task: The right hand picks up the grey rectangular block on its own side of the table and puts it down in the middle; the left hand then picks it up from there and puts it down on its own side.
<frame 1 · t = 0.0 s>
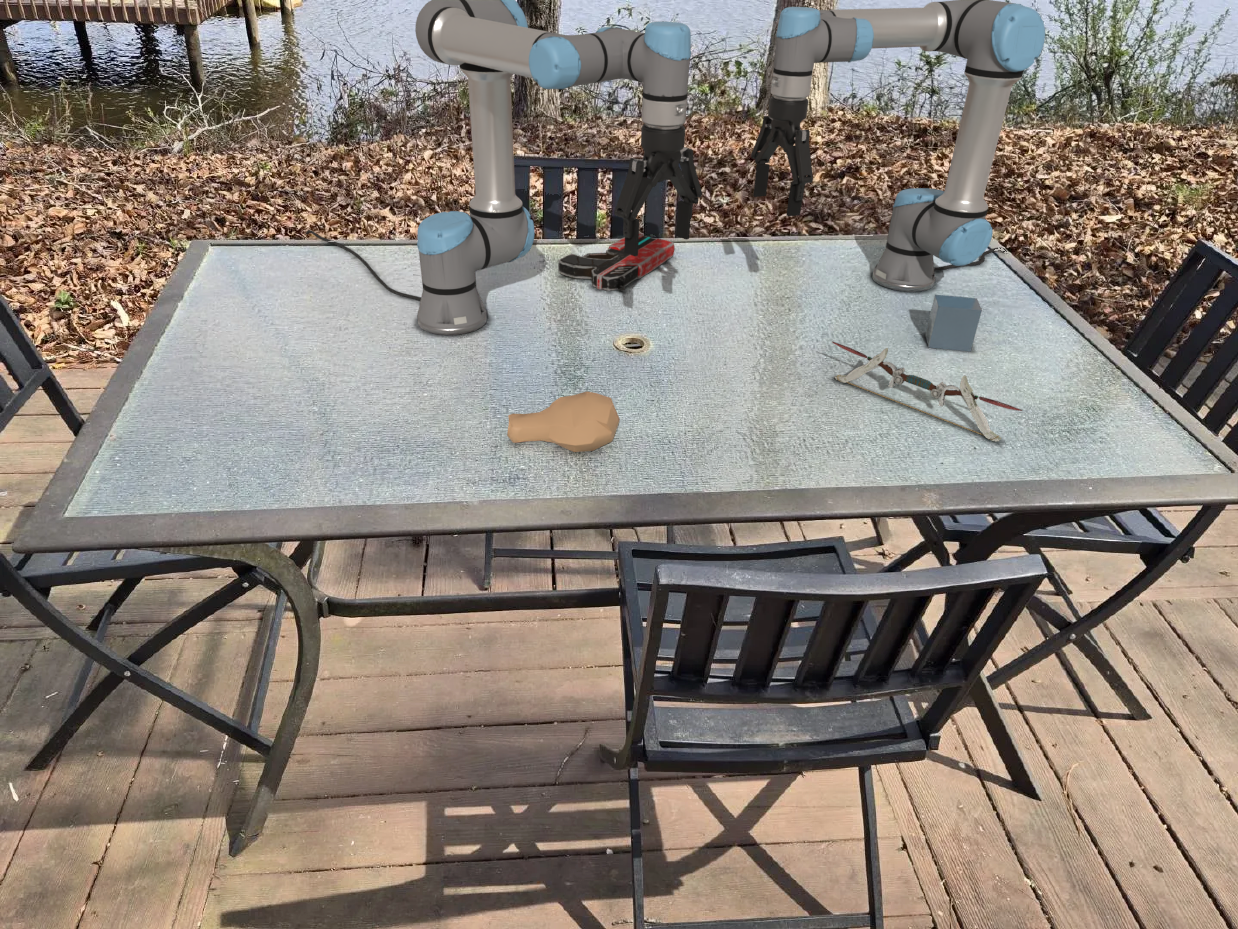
left hand: (657, 245, 161), 28 cm above the table, tool pointing down, fingers open, 13 cm apart
right hand: (775, 205, 182), 28 cm above the table, tool pointing down, fingers open, 13 cm apart
bow: (912, 409, 169), on the table
gun: (618, 268, 227), on the table
squash: (563, 442, 156), on the table
grey rectangular block: (947, 342, 194), on the table
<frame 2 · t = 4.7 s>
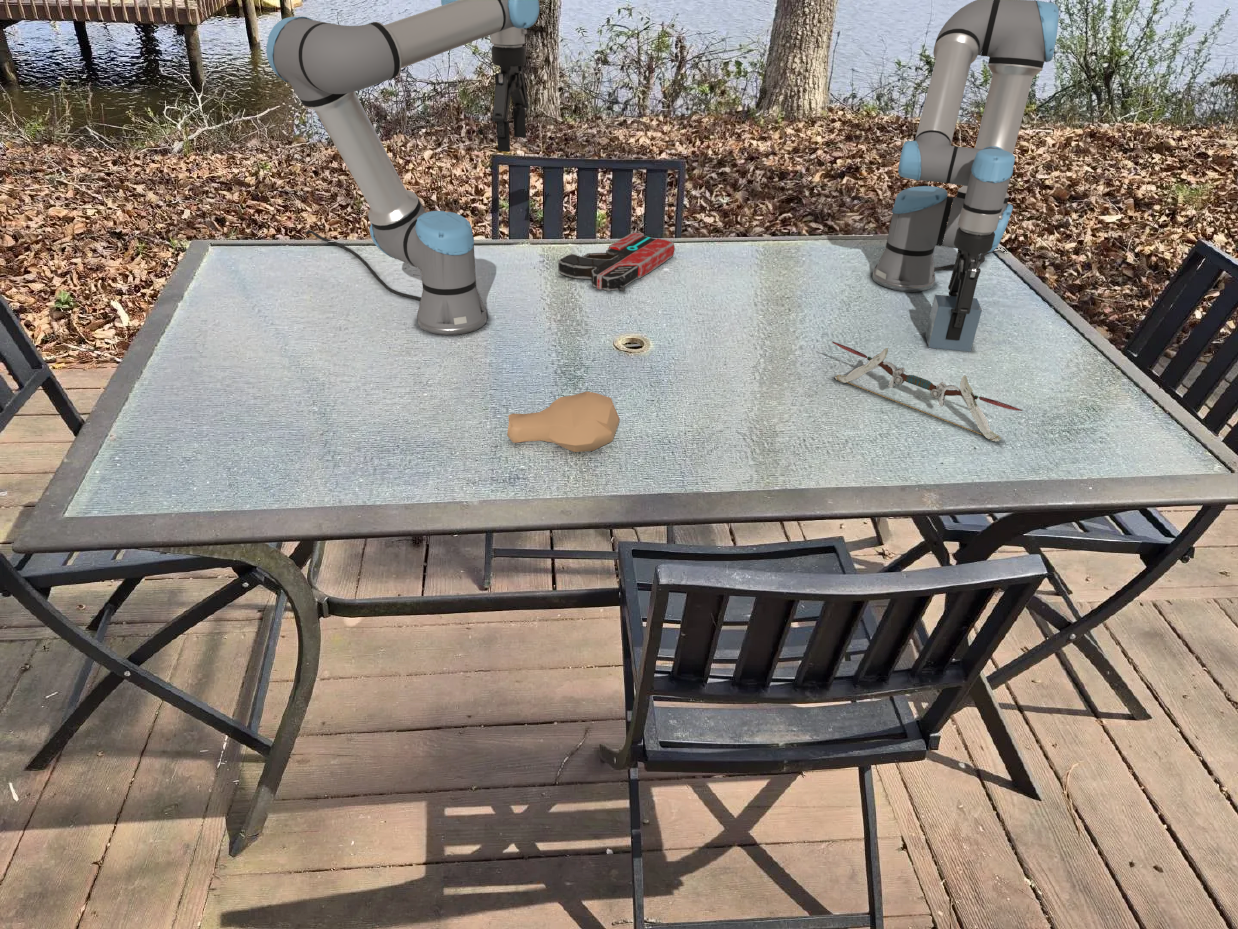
left hand: (512, 143, 207), 31 cm above the table, tool pointing down, fingers open, 13 cm apart
right hand: (950, 331, 193), 3 cm above the table, tool pointing down, fingers closed on grey rectangular block, 7 cm apart
grey rectangular block: (947, 342, 194), on the table, touching right hand
everything else where it was.
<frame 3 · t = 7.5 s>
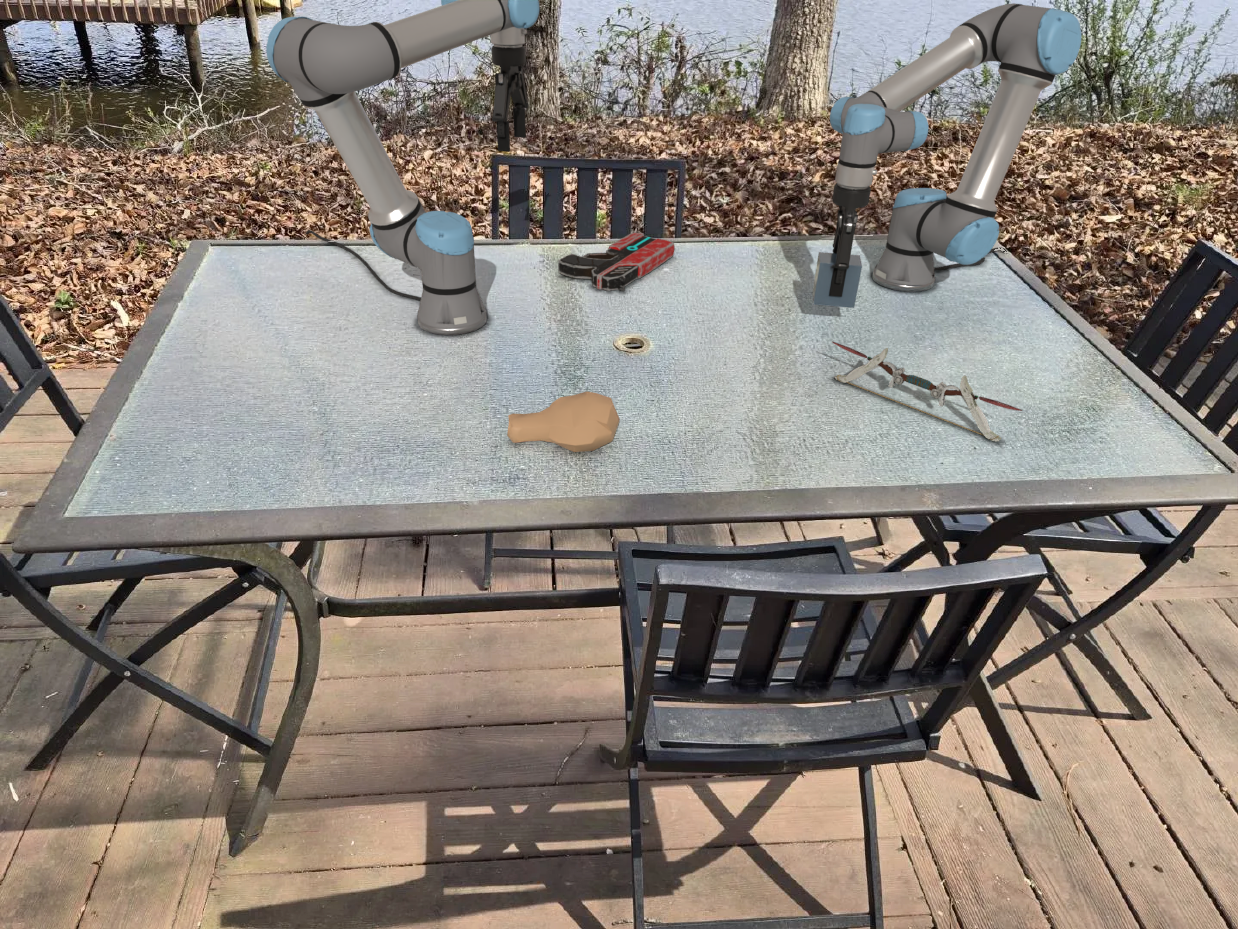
left hand: (512, 143, 207), 31 cm above the table, tool pointing down, fingers open, 13 cm apart
right hand: (834, 288, 195), 9 cm above the table, tool pointing down, fingers closed on grey rectangular block, 7 cm apart
grey rectangular block: (832, 300, 196), point 6 cm above the table, touching right hand
everything else where it was.
when the right hand's fingers open (4 cm above the table, at t = 10.5 s): grey rectangular block stays where it is, on the table.
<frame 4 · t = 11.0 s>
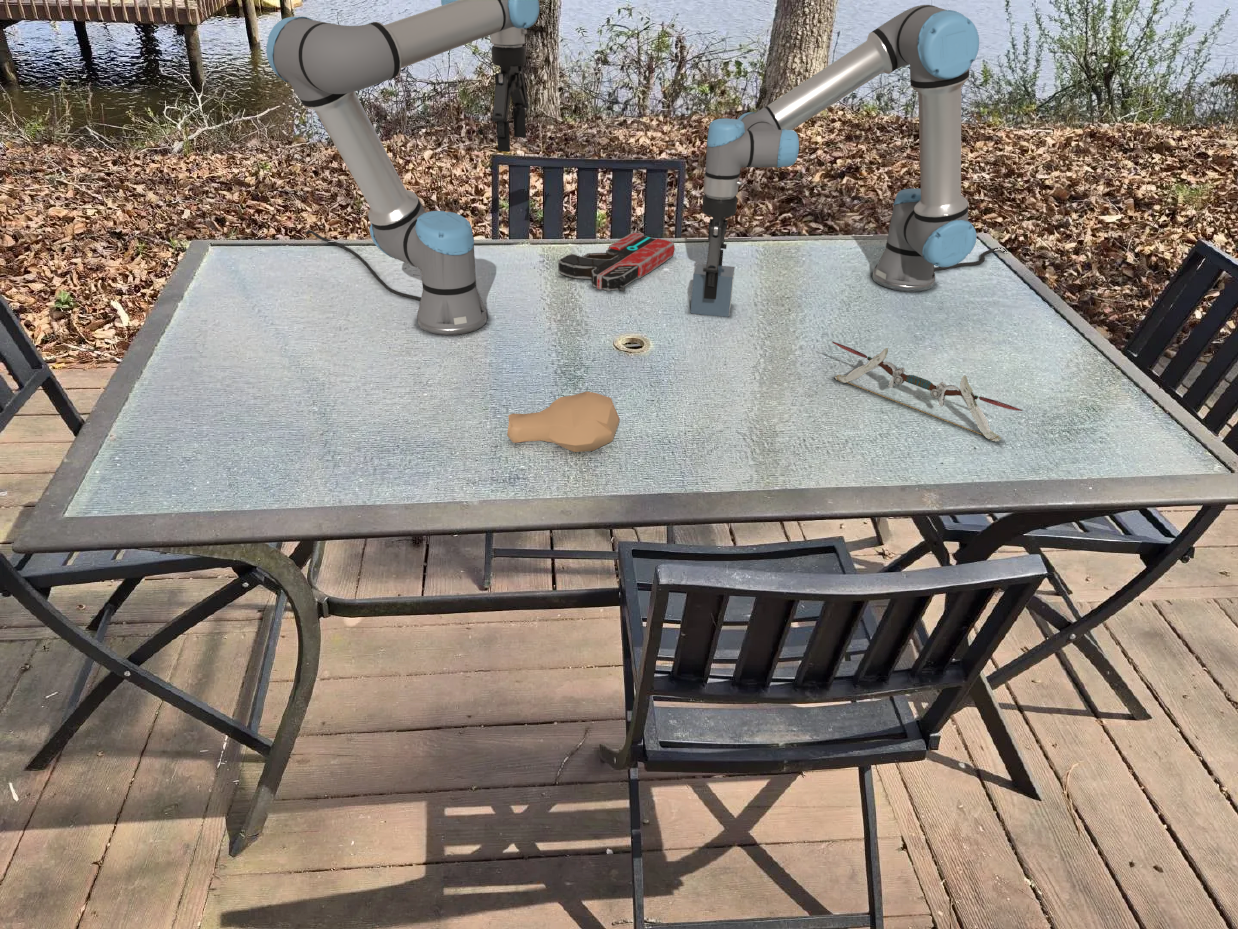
left hand: (512, 143, 207), 31 cm above the table, tool pointing down, fingers open, 13 cm apart
right hand: (712, 287, 203), 6 cm above the table, tool pointing down, fingers open, 13 cm apart
grey rectangular block: (710, 309, 206), on the table
everything else where it was.
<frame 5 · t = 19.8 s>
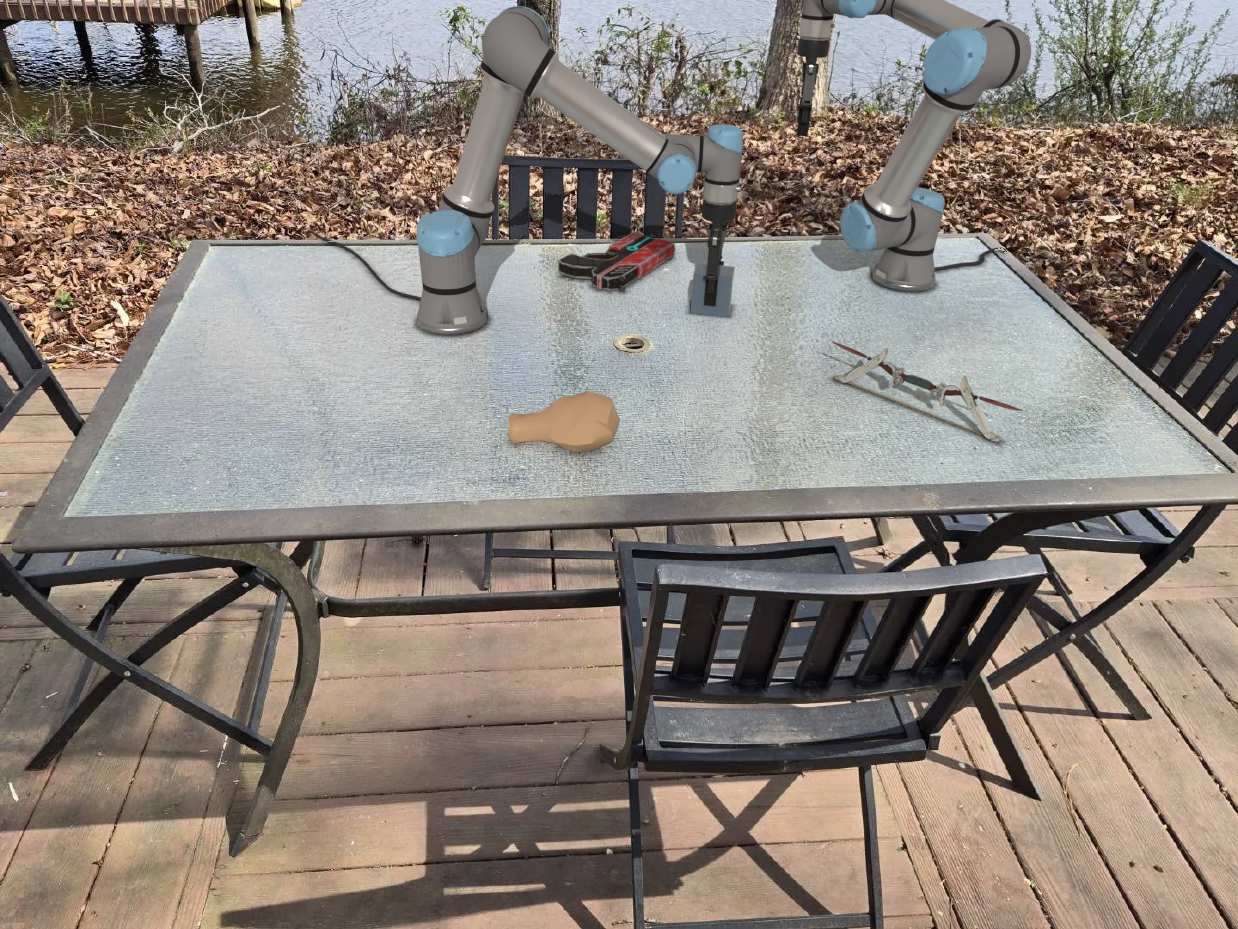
left hand: (711, 298, 205), 3 cm above the table, tool pointing down, fingers closed on grey rectangular block, 7 cm apart
right hand: (802, 129, 224), 32 cm above the table, tool pointing down, fingers open, 13 cm apart
grey rectangular block: (710, 309, 206), on the table, touching left hand
everything else where it was.
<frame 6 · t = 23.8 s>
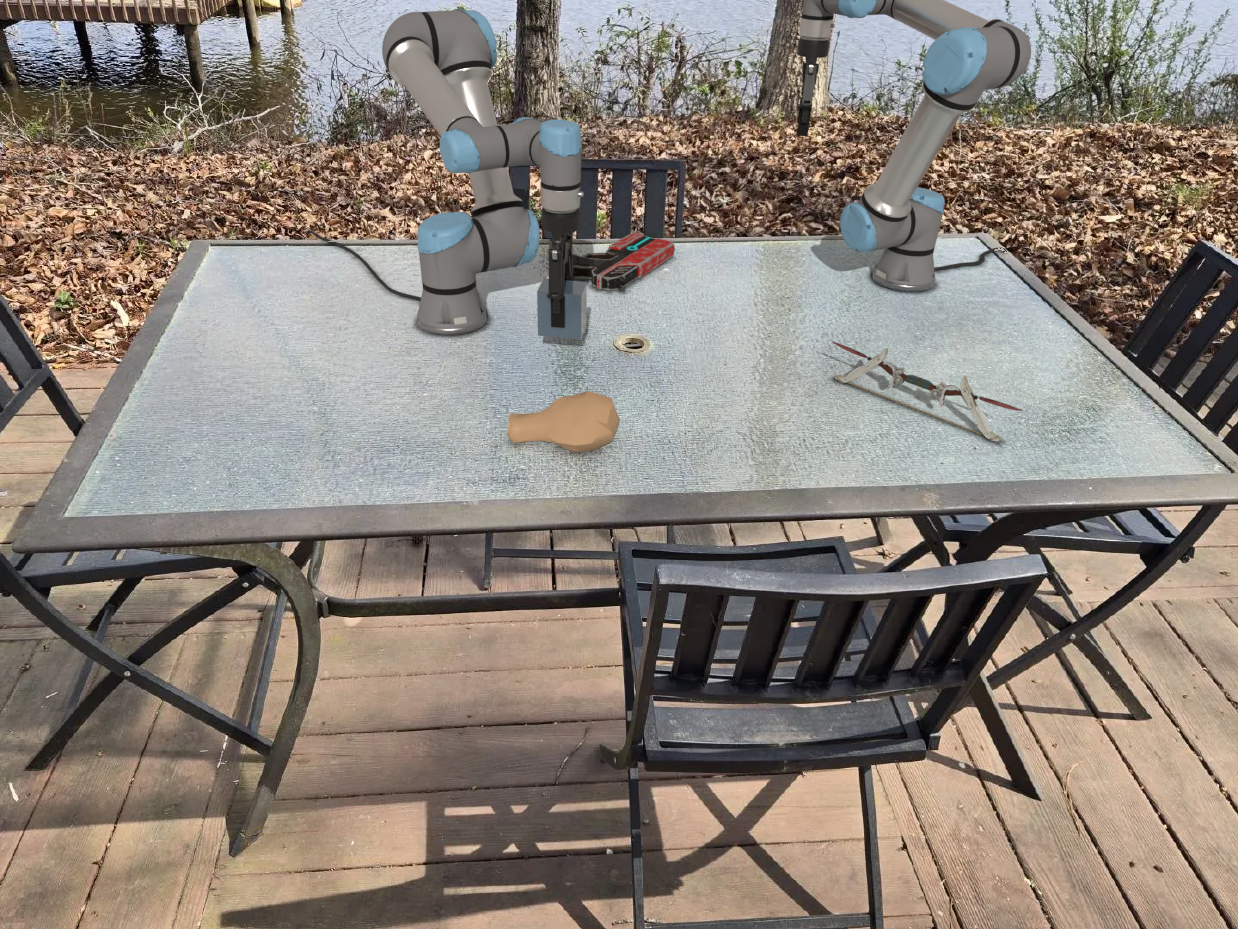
left hand: (561, 318, 180), 9 cm above the table, tool pointing down, fingers closed on grey rectangular block, 7 cm apart
right hand: (802, 129, 224), 32 cm above the table, tool pointing down, fingers open, 13 cm apart
grey rectangular block: (562, 330, 181), point 6 cm above the table, touching left hand
everything else where it was.
when the left hand's fingers open (4 cm above the table, at t = 27.7 s): grey rectangular block drops 1 cm, on the table.
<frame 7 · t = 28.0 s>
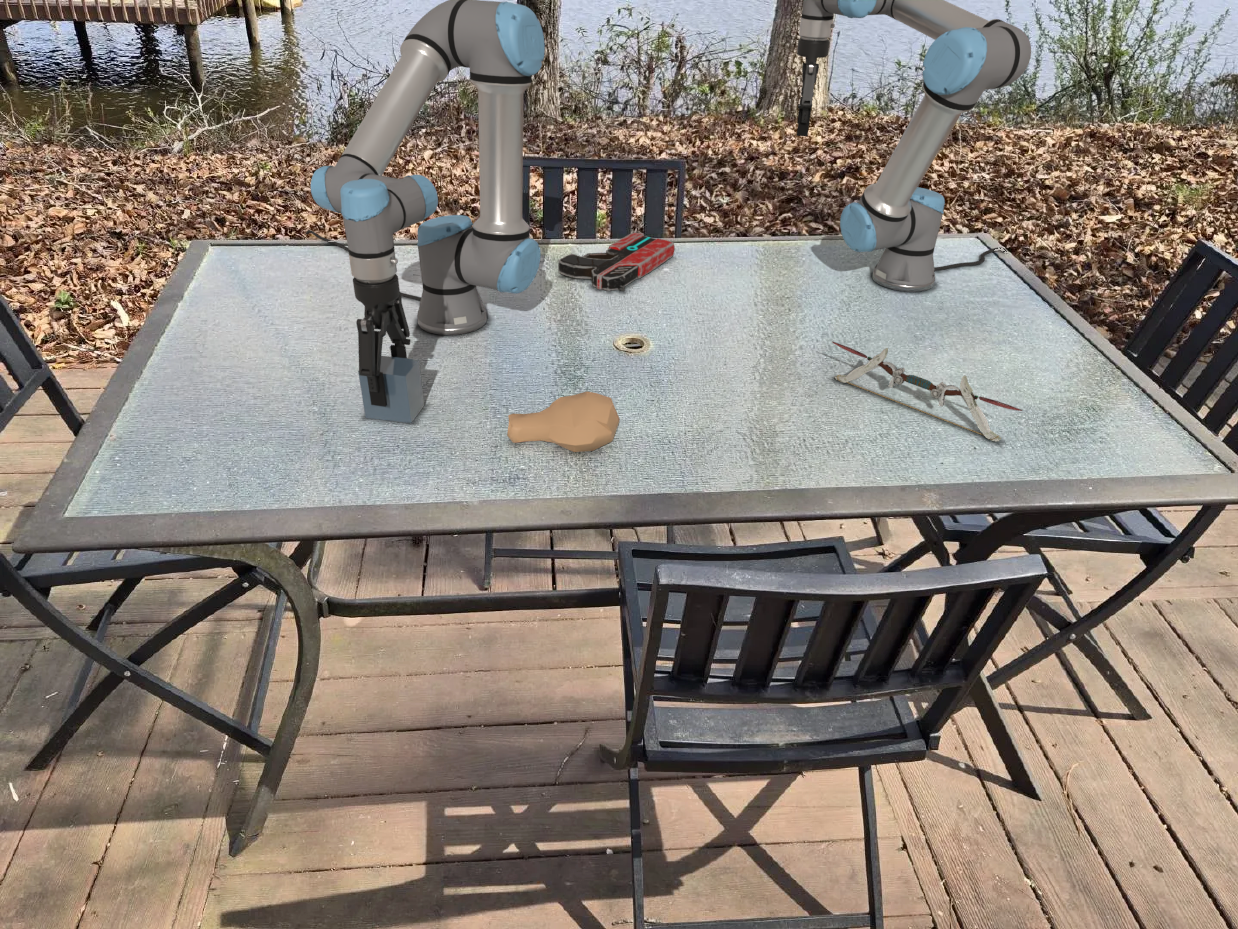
left hand: (390, 390, 161), 4 cm above the table, tool pointing down, fingers open, 10 cm apart
right hand: (802, 129, 224), 32 cm above the table, tool pointing down, fingers open, 13 cm apart
grey rectangular block: (395, 411, 164), on the table
everything else where it was.
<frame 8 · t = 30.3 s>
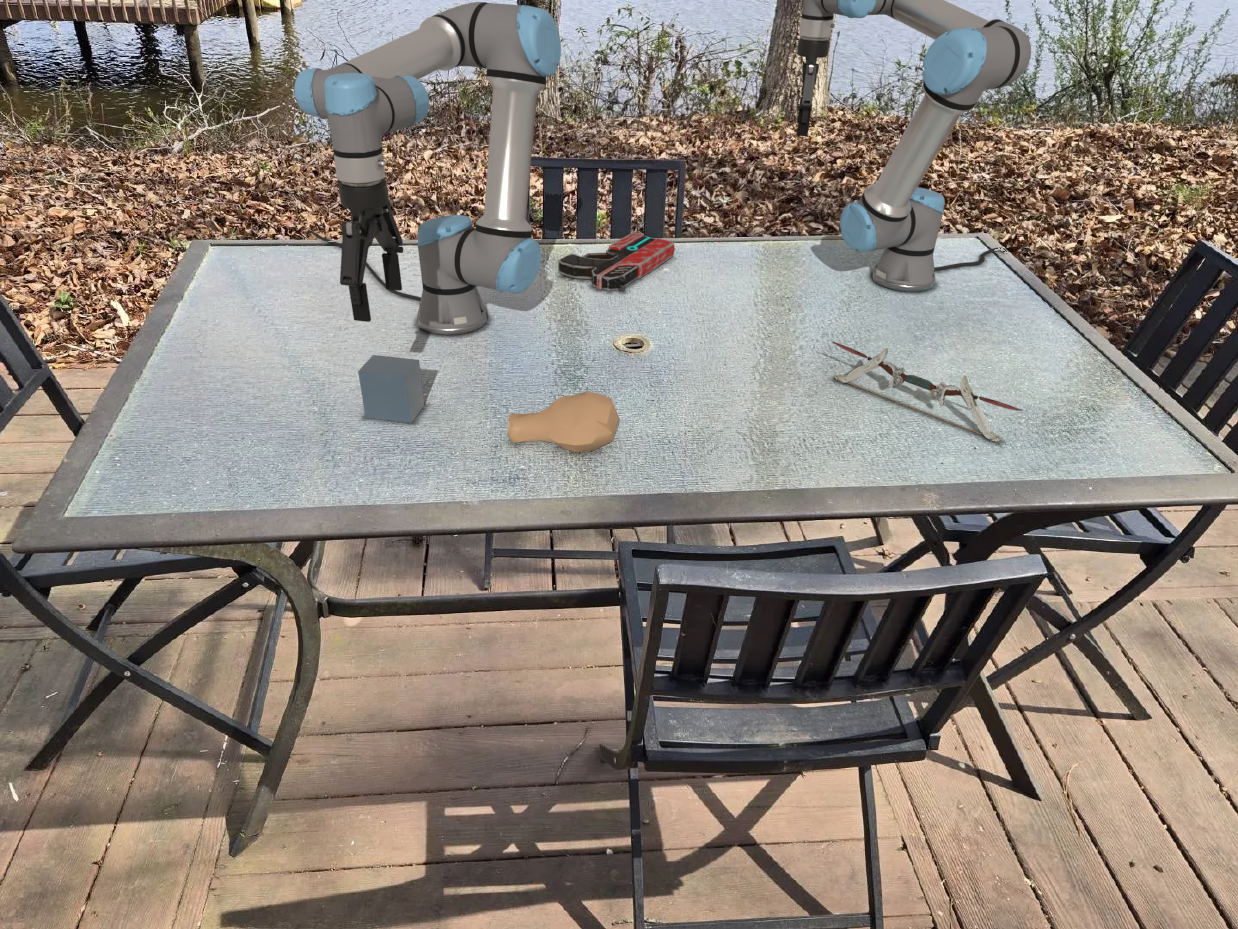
left hand: (379, 304, 152), 21 cm above the table, tool pointing down, fingers open, 13 cm apart
right hand: (802, 129, 224), 32 cm above the table, tool pointing down, fingers open, 13 cm apart
nothing on the table moved.
at the end: grey rectangular block inside the target area (0.3 cm from its centre), on the table; grey rectangular block tilted 0°; the two hands never held the grey rectangular block at the same time; the left hand is holding nothing; the right hand is holding nothing; grey rectangular block at rest at the end (0.0 cm/s) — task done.
